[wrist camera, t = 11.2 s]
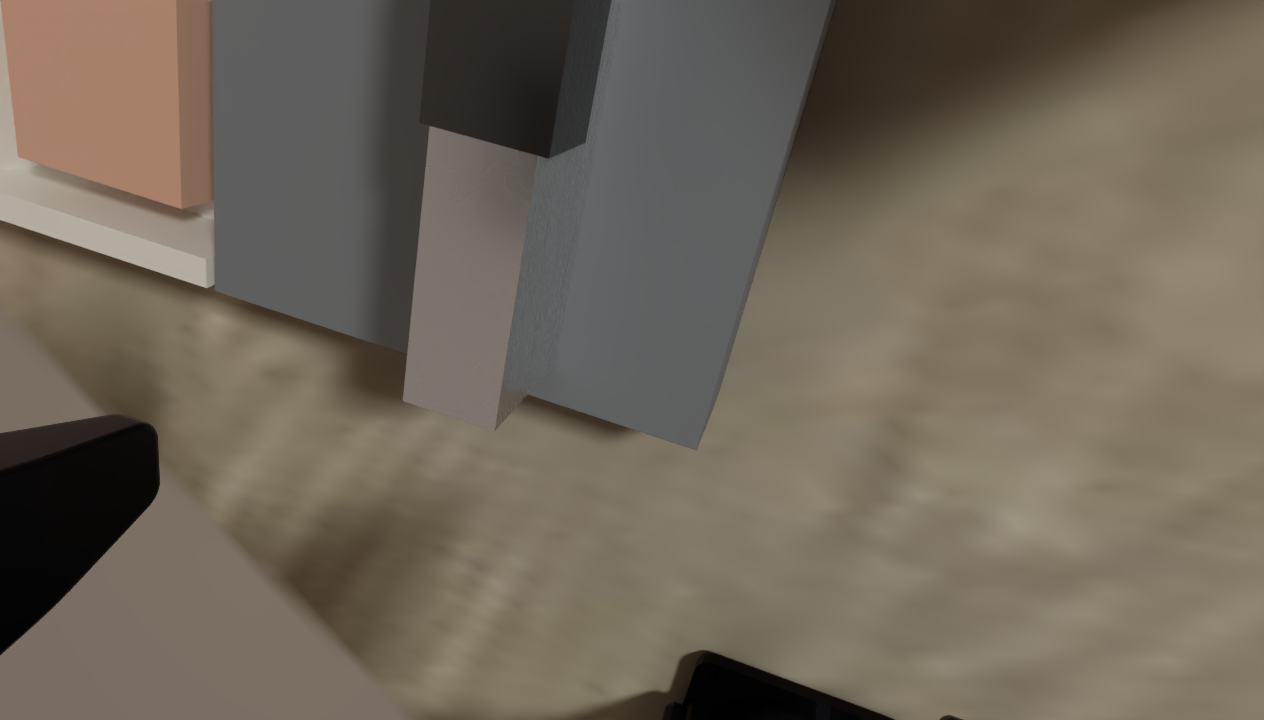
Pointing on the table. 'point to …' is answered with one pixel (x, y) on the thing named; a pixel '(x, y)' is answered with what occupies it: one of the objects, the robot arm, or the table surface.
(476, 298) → the sleeved grey plank
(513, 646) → the table surface
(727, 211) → the board
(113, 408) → the table surface
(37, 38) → the tile
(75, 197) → the tray
